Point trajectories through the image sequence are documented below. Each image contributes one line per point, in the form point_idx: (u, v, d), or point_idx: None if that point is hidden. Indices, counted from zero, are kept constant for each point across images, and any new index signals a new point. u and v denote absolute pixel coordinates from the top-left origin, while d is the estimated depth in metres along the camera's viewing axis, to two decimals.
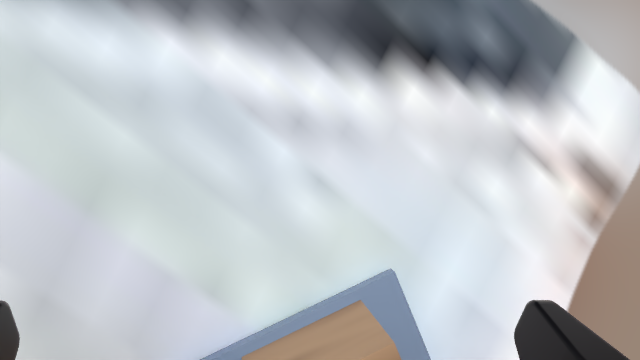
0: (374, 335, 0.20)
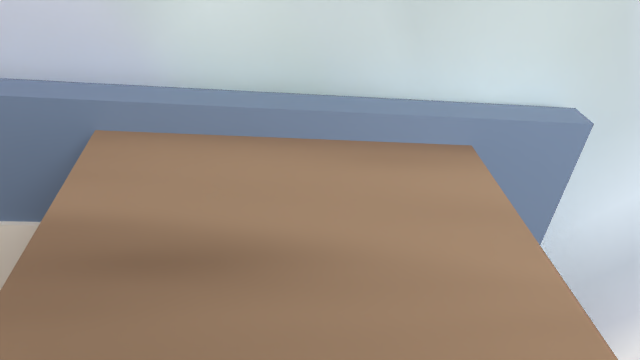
0: (555, 328, 0.05)
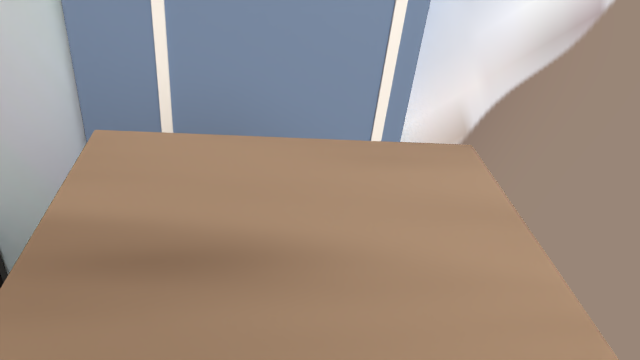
0: (556, 328, 0.05)
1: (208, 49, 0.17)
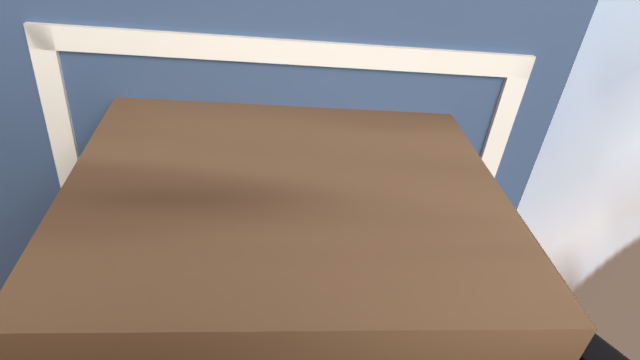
0: (510, 252, 0.06)
1: None
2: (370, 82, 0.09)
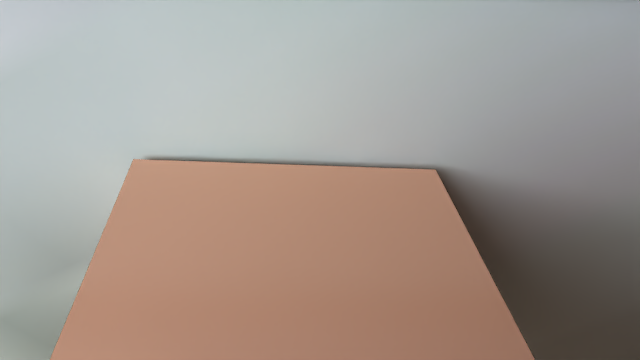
0: None
1: None
2: None
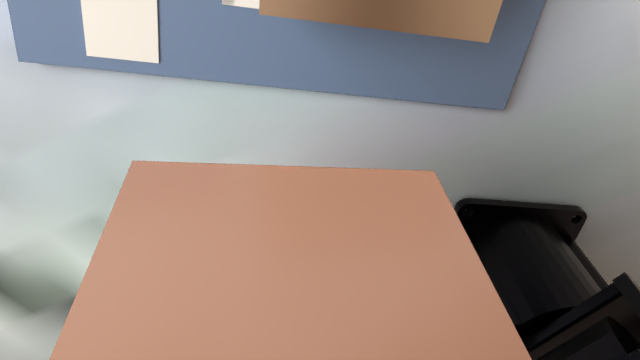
0: None
1: None
2: None
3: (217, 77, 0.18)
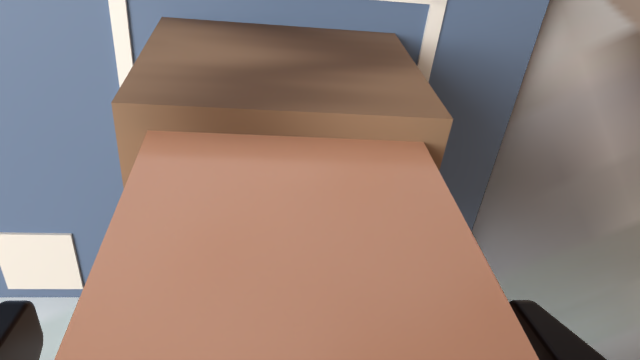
0: None
1: None
2: None
3: None
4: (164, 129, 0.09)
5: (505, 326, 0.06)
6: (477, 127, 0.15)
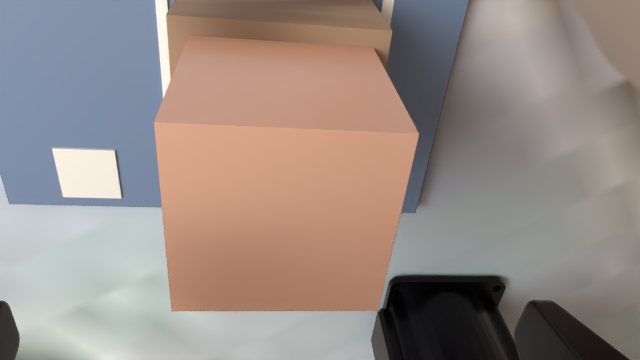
0: None
1: None
2: None
3: None
4: (199, 35, 0.13)
5: (401, 118, 0.10)
6: (429, 64, 0.20)
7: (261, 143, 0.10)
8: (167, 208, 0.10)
